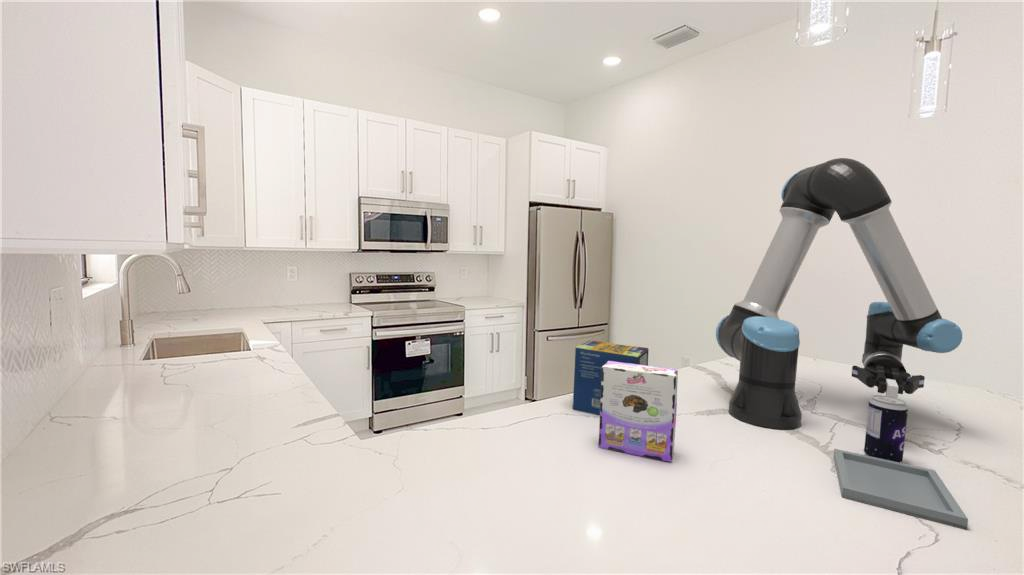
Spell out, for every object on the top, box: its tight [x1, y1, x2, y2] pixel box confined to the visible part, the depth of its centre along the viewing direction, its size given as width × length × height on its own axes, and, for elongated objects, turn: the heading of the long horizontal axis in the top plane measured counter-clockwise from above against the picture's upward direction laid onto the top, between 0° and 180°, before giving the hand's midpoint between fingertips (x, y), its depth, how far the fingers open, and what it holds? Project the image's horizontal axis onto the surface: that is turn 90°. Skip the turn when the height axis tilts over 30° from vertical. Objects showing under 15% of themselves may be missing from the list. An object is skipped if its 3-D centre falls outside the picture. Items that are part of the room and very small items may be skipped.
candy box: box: [597, 361, 679, 463], centre depth 85 cm, size 14×6×16 cm, turn 65°
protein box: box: [572, 340, 650, 416], centre depth 107 cm, size 10×15×16 cm
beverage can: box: [863, 394, 909, 463], centre depth 84 cm, size 6×6×12 cm
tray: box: [833, 448, 969, 530], centre depth 74 cm, size 14×17×2 cm
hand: (892, 392), depth 88 cm, fingers closed
